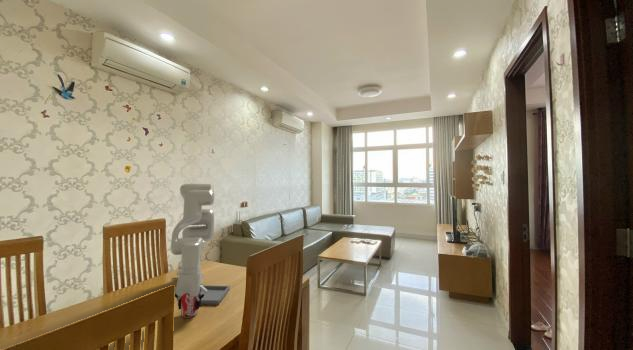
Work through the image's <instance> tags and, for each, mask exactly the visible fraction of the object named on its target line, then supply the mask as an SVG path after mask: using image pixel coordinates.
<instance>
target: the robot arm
mask: <svg viewBox="0 0 633 350" xmlns="http://www.w3.org/2000/svg"><path fill="white" fill-rule="evenodd" d="M179 191H180V195H181V197H182V198H183V213H182V214H183V216H182V219H181V220H180V221H178V223H177V224H176V225H175V227H174V229H173V231H172V234H171V242H170V251H171V253H172V255H174V256H181V263H180V265H181V266H178V270H177V271H176V276H178V277H177V282H176V287H175V288H174V289H175V296H174V297H175V298H176V300H177V307H178V310H179V311H181V296H183V294H185V293H188V294H190V295H191V296H192V297H195V296H196V299H197V301H196V310H199V308H200V307H201V306H202V305H201V299H202V298H203V297H204V296H205V295H206V293H207V292H208V290H207V289H206V288H205V287H203V276H204V274H203V273H202V270H201V258H202V257H201V255H202V253H201V252H202V251H203V250H204V249H205V245H206V244H205V242H211V241H212V240H213V238H214V236H215V235H214V233H215V232H214V231H215V230H214V229H215V214H214V211H213V210H212V209H211V208H203V207H202V206H212V205H213V204H214V201H215V189H214V186H213V185H212V184H209V183H185V184H182V185H180V186H179ZM180 232H181V233H182V234H181V236H182V237H181V238H179V234H180ZM202 291H203V294H202V295H201V293H200V292H202Z"/></svg>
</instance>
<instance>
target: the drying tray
mask: <svg viewBox="0 0 633 350" xmlns="http://www.w3.org/2000/svg"><path fill="white" fill-rule="evenodd" d="M202 285H203V284H202ZM203 287H205V288H206V289H207V290H208V292H207V293H206V295H205V296H204V297H203V298H202V299H201V306H203V305H206V306H207V305H208V306H209V305H211V306H219V305H220V304H221V302H222V301H223V300H224V298H226V295H227V294H228V293H229V292H230V290H231V288H230V287H231V285H212V284H211V285H210V284H207V285H206V284H205V285H203ZM200 293H201V295H202V294H203V291H202V292H200Z"/></svg>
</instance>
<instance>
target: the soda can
mask: <svg viewBox="0 0 633 350" xmlns="http://www.w3.org/2000/svg"><path fill="white" fill-rule="evenodd" d="M196 301H197V299H196V296H195V297H192V296H191V295H190V294H188V293H185V294H183V296H181V309H180V316H181V317H183V318H184V319H189V318H193V317H194V316H196V314H197V313H198V312H199V311H198V310H199V309H198V310H196Z"/></svg>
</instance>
